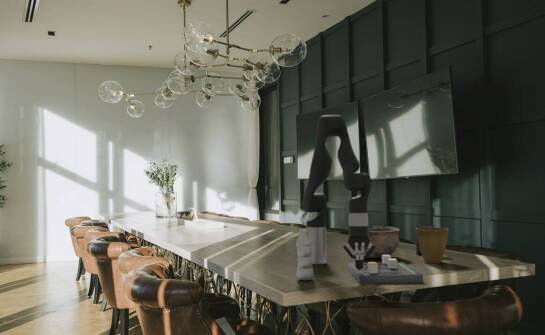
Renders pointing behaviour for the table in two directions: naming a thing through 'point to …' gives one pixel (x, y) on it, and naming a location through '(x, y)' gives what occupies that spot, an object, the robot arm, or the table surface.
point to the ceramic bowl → (383, 241)
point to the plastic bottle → (304, 256)
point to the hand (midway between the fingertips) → (359, 269)
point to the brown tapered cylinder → (417, 239)
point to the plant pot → (432, 243)
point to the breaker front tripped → (372, 267)
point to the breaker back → (385, 258)
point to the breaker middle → (392, 263)
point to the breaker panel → (386, 274)
